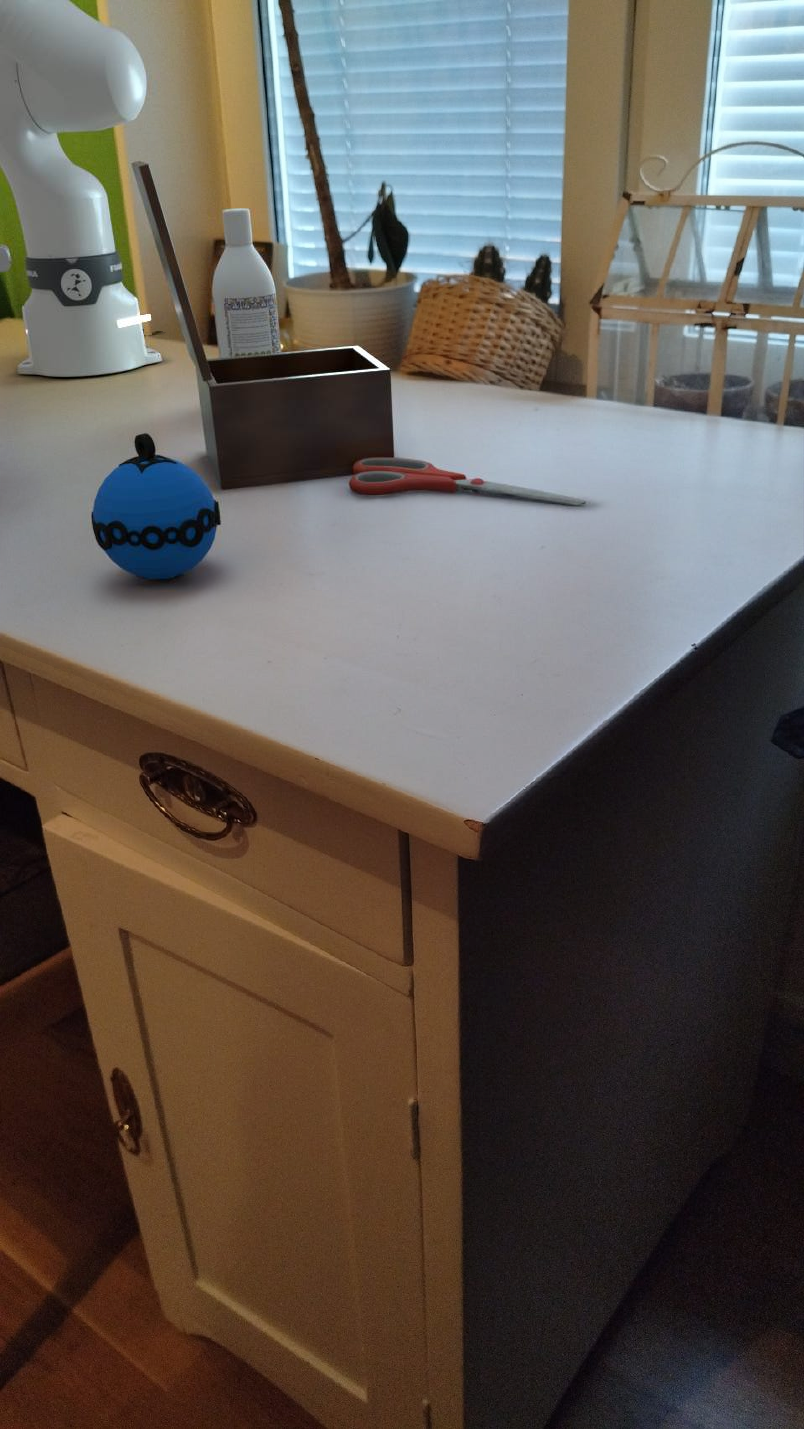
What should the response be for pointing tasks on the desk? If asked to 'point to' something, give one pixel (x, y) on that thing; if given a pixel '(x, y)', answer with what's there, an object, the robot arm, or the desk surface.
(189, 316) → the lid
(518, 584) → the desk surface
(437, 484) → the scissors
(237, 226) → the bath foam
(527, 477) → the desk surface
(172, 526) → the ornament
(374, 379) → the chest
